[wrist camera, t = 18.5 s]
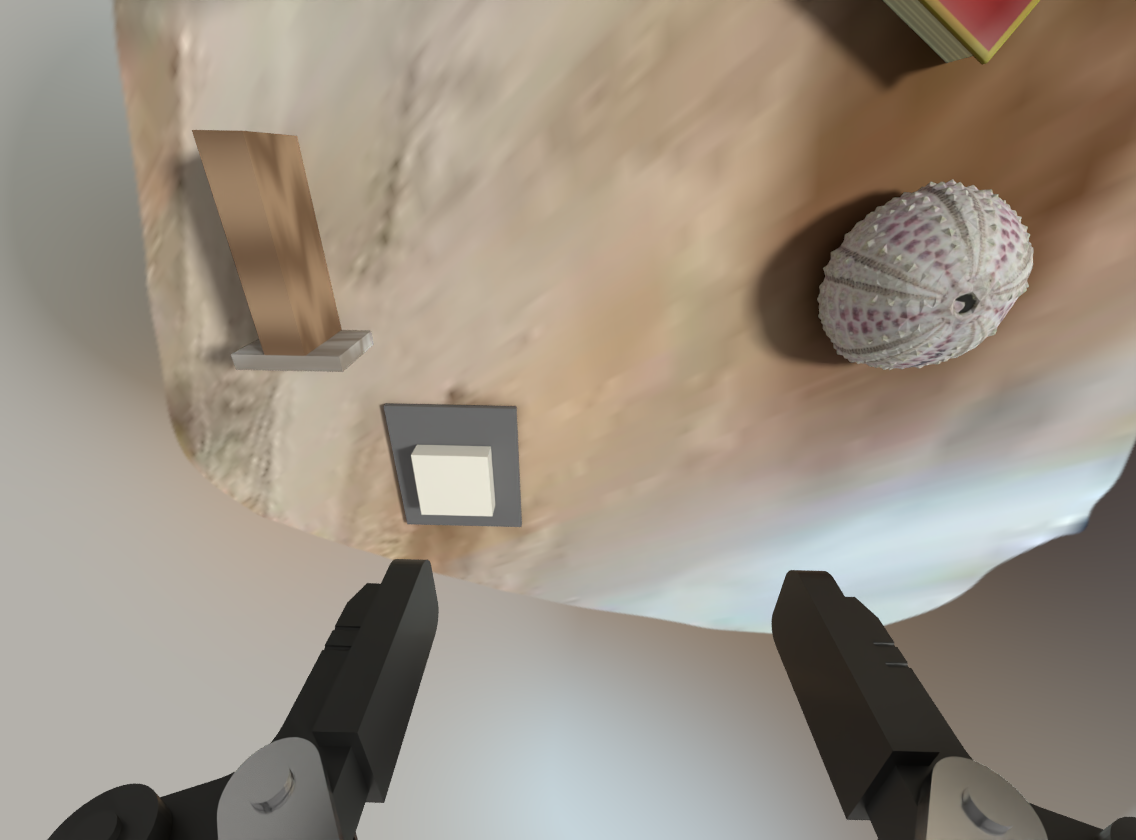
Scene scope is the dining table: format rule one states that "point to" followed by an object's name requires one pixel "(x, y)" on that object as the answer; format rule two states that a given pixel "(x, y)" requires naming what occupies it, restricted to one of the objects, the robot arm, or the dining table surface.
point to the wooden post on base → (277, 253)
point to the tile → (454, 480)
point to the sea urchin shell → (925, 277)
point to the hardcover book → (963, 24)
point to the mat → (460, 430)
